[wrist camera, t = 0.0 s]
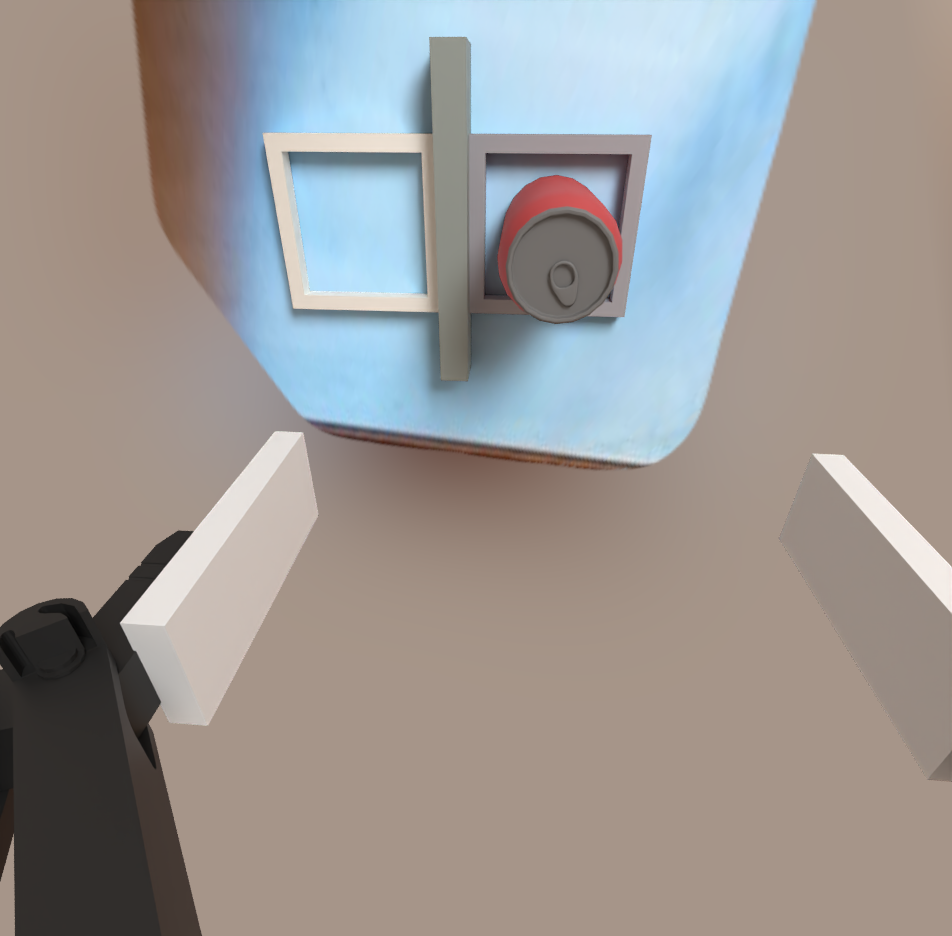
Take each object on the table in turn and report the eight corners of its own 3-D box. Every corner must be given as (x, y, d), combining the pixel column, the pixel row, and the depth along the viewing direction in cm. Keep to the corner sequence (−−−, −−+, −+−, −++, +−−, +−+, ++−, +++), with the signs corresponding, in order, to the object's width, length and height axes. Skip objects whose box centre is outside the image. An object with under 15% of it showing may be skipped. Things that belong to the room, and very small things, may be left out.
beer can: (516, 290, 39) (514, 348, 29) (491, 192, 36) (478, 219, 26) (608, 263, 38) (639, 314, 28) (590, 159, 35) (618, 174, 25)
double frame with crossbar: (255, 44, 33) (232, 38, 30) (661, 42, 31) (673, 35, 29) (308, 360, 43) (295, 375, 41) (613, 370, 42) (618, 386, 39)
